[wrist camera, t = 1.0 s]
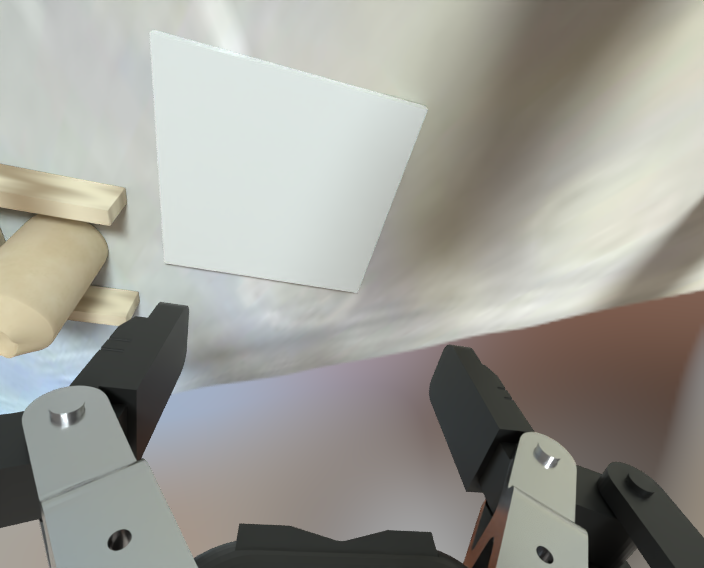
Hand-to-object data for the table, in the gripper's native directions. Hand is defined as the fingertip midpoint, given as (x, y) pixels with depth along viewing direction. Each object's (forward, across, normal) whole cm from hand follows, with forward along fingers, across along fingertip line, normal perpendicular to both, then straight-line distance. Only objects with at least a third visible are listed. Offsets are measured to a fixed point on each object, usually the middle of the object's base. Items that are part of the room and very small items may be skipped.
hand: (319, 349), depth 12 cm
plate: (+18, +2, 0) cm, 18 cm away
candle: (+20, +18, +7) cm, 28 cm away
